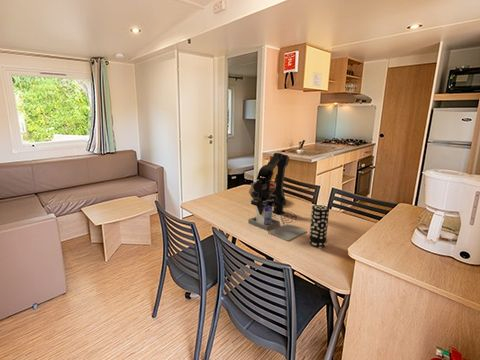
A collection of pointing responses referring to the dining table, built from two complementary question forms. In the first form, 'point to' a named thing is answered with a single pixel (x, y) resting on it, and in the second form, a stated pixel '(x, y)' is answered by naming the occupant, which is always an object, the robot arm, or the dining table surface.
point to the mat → (287, 232)
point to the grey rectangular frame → (262, 226)
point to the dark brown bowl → (272, 188)
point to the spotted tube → (318, 226)
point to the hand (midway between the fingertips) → (264, 213)
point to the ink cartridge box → (265, 215)
